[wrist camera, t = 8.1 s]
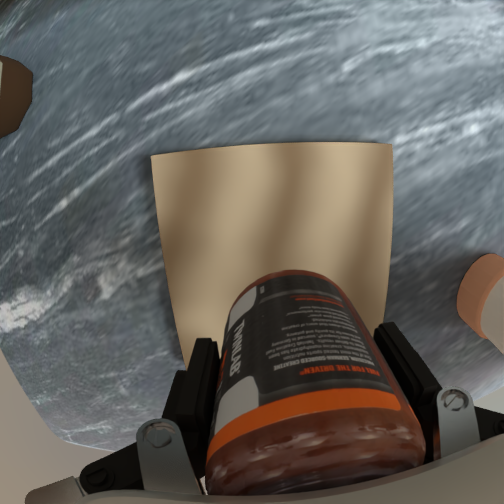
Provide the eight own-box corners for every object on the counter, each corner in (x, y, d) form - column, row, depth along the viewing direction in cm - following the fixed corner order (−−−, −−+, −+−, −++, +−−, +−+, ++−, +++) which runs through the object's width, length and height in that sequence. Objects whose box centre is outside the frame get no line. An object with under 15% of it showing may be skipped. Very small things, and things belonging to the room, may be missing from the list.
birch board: (385, 144, 19) (392, 144, 18) (372, 350, 24) (376, 357, 23) (156, 155, 19) (150, 155, 18) (189, 362, 24) (186, 371, 23)
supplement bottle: (204, 293, 13) (125, 556, 3) (329, 243, 13) (498, 483, 2) (256, 384, 15) (256, 590, 4) (361, 345, 14) (449, 542, 3)
